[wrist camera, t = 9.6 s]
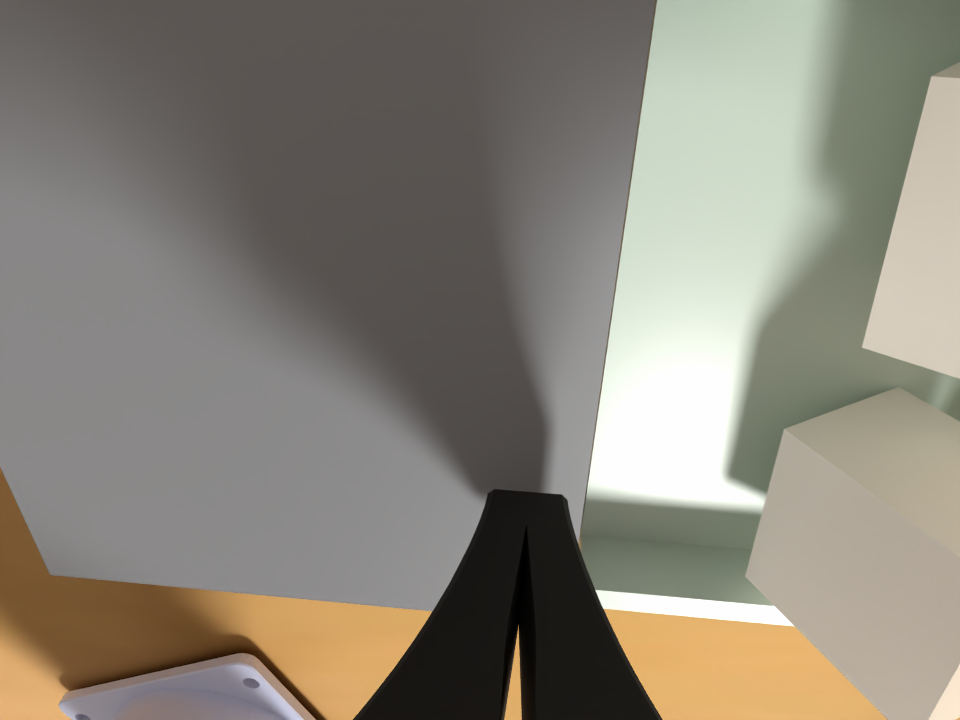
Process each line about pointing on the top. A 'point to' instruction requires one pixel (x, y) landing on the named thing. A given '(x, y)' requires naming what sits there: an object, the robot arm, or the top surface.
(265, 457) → the plate
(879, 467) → the block
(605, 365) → the tray
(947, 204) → the block
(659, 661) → the top surface
